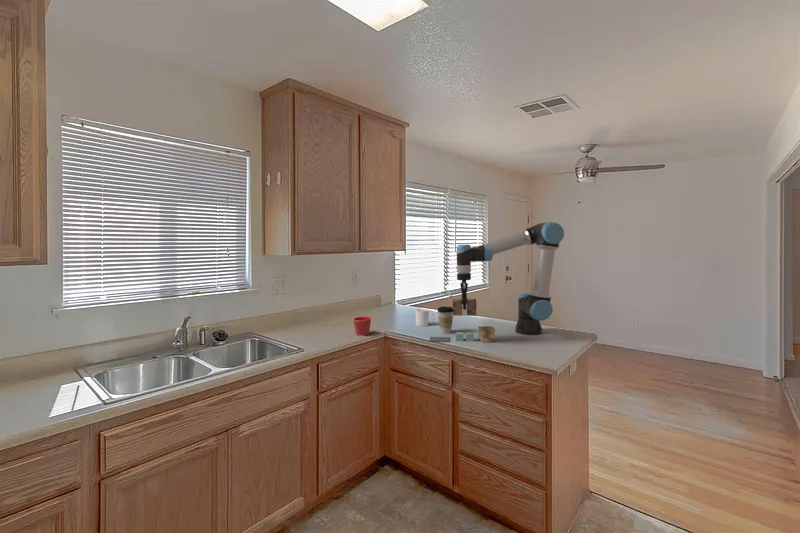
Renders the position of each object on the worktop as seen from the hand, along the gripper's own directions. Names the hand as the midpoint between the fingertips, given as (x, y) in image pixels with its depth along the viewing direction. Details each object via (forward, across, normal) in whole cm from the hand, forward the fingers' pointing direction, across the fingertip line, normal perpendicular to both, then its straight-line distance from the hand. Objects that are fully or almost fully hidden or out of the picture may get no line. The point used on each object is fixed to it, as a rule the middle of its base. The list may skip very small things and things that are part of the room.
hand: (464, 313), depth 212 cm
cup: (+15, -35, -25) cm, 46 cm away
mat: (+15, 0, -14) cm, 20 cm away
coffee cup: (+15, -17, -11) cm, 25 cm away
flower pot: (+15, -10, -61) cm, 64 cm away
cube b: (+15, 0, -3) cm, 15 cm away
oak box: (+15, 0, +12) cm, 19 cm away
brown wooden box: (0, 0, 0) cm, 0 cm away
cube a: (+15, 0, +3) cm, 15 cm away
